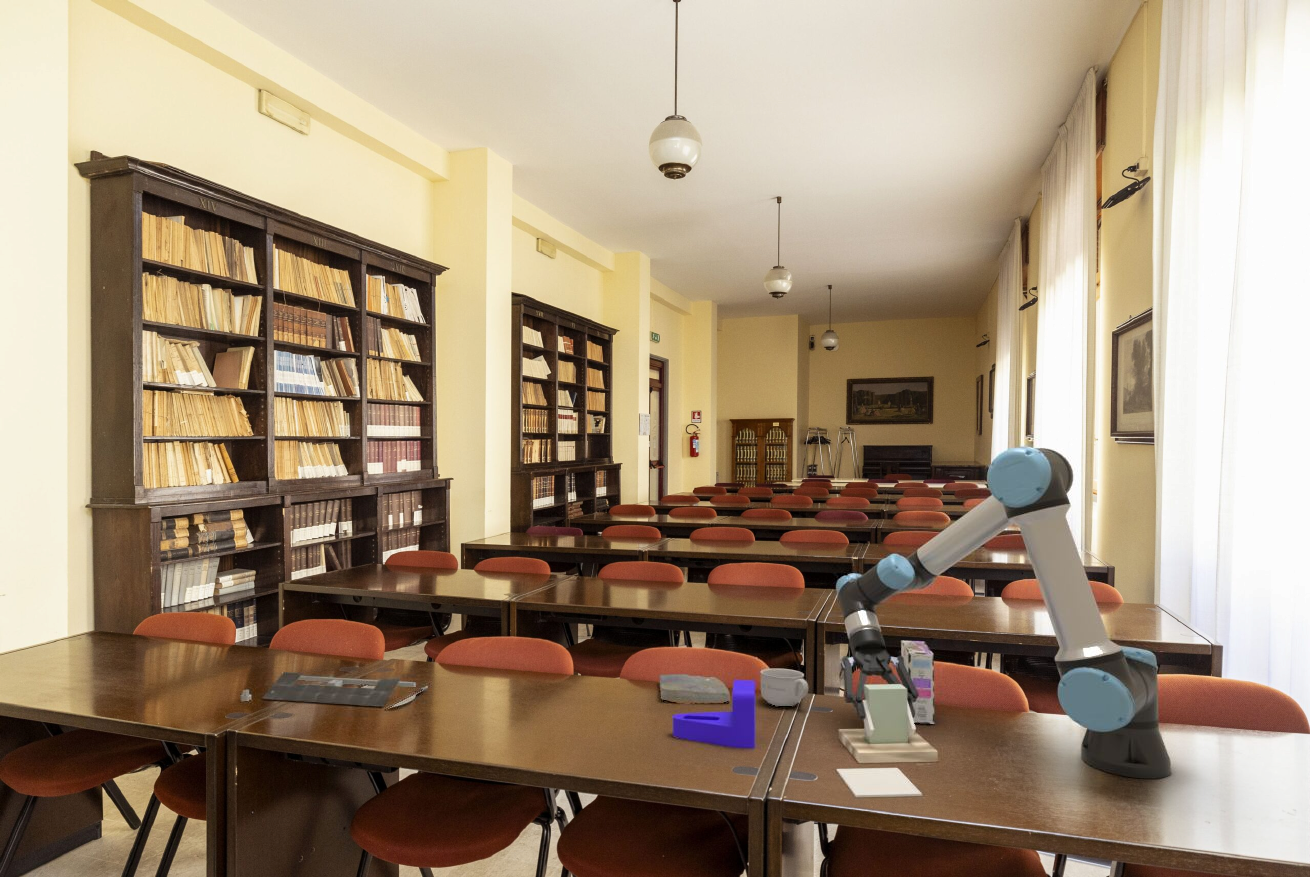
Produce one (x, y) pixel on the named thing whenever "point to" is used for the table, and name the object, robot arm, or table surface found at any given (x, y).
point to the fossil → (693, 688)
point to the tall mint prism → (887, 713)
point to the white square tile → (878, 782)
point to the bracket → (723, 721)
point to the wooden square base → (887, 749)
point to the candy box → (920, 678)
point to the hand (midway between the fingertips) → (891, 732)
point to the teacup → (783, 686)
